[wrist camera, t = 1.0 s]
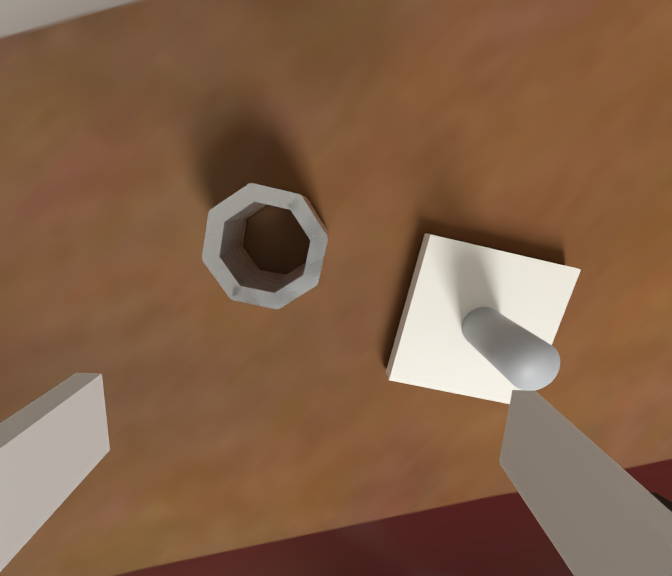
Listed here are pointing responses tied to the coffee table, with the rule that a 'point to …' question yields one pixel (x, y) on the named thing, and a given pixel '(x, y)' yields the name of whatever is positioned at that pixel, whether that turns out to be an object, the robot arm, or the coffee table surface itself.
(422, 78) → the coffee table surface
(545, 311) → the post
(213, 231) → the tube
